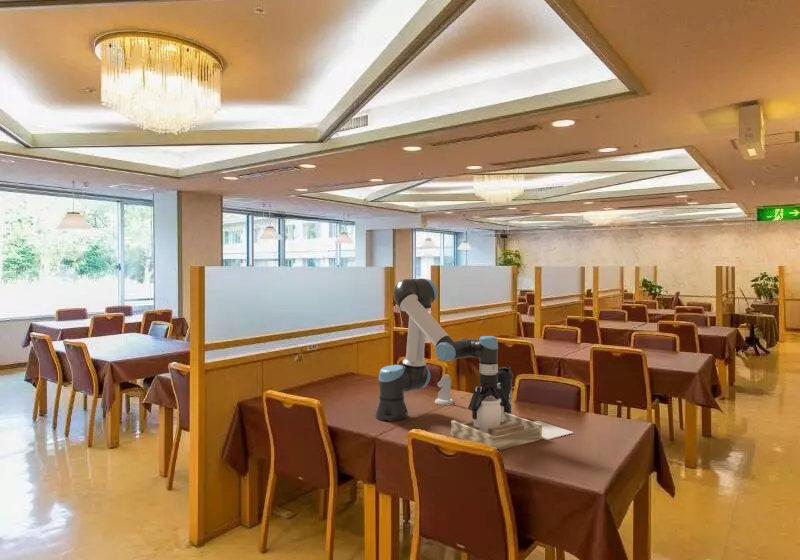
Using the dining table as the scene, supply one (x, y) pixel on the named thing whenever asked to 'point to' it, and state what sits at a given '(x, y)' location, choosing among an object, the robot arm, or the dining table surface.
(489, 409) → the jar
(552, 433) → the mat
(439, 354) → the robot arm
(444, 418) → the dining table surface
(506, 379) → the water bottle
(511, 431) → the offcut stack
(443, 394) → the chess piece
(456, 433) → the rack
